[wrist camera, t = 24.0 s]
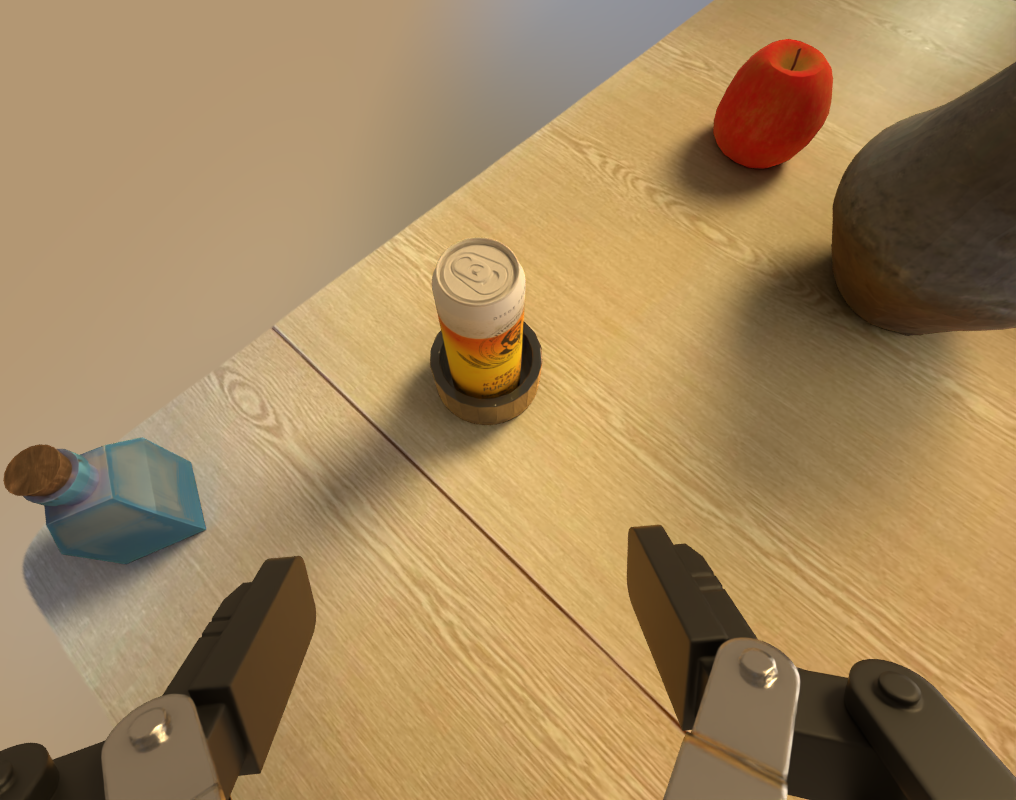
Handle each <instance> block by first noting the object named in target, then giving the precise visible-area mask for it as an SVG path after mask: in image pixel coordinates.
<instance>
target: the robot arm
mask: <svg viewBox="0 0 1016 800" xmlns="http://www.w3.org/2000/svg"><path fill="white" fill-rule="evenodd" d="M627 586H628V592H629V597H630V600H631V604H632V606H633V609H634V611H635V614H636V616H637V619H638V621H639V624H640V626H641V629H642V631H643V634H644V636H645V639H646V641H647V644H648V646H649V649H650V651H651V653H652V656H653V658H654V661H655V663H656V666H657V668H658V671H659V673H660V676H661V678H662V681H663V683H664V686H665V688H666V691H667V693H668V696H669V698H670V701H671V703H672V706H673V708H674V711H675V713H676V716H677V718H678V721H679V723H680V726H681V728H682V731H683V730H692V731H691V733H689V732H687V733H686V735H685V737H684V739H683V742H682V745H681V748H680V751H679V754H678V757H677V760H676V763H675V766H674V769H673V772H672V775H671V778H670V781H669V784H668V787H667V790H666V793H665V796H664V799H663V800H787V794H788V795H792V796H796V797H800V798H804V799H809V800H1016V777H1015V776H1014V775H1013V774H1012V773H1011V772H1010V770H1009V769H1008V768H1007V767H1006V766H1005V765H1004V764H1003V763H1002V762H1001V760H1000V759H999V758H998V757H997V756H996V755H995V754H994V753H993V751H992V750H991V749H990V748H989V747H988V746H987V745H986V744H985V743H984V741H983V740H982V739H981V738H980V737H979V736H978V735H977V734H976V733H975V731H974V730H973V729H972V728H971V727H970V726H969V725H968V724H967V722H966V721H965V720H964V719H963V718H962V717H961V716H960V715H959V714H958V712H957V711H956V710H955V709H954V708H953V707H952V706H951V705H950V703H949V702H948V701H947V700H946V699H945V698H944V697H943V696H942V695H941V693H940V692H939V691H938V690H937V689H936V688H935V687H934V686H933V685H932V684H930V683H929V682H928V681H927V680H926V679H924V678H923V677H921V676H920V675H918V674H917V673H915V672H913V671H911V670H910V669H908V668H905V667H903V666H901V665H898V664H896V663H893V662H889V661H885V660H879V659H867V660H862V661H859V662H857V663H856V664H854V665H853V667H852V668H851V670H850V673H849V677H848V678H846V677H840V676H834V675H829V674H823V673H818V672H812V671H807V670H803V669H800V668H797V667H795V665H794V664H793V662H792V661H791V660H790V659H789V658H788V657H787V656H786V655H785V654H784V653H783V652H781V651H780V650H778V649H777V648H775V647H774V646H772V645H770V644H768V643H766V642H763V641H760V640H758V639H757V637H756V636H755V634H754V633H753V631H752V630H751V628H750V627H749V625H748V624H747V622H746V621H745V619H744V618H743V616H742V615H741V613H740V612H739V610H738V609H737V607H736V606H735V604H734V603H733V601H732V600H731V598H730V597H729V595H728V594H727V592H726V591H725V589H723V588H722V585H721V583H720V582H719V580H718V579H717V577H716V576H714V574H713V571H712V570H711V568H710V567H709V565H708V564H707V562H706V561H705V559H704V558H703V556H701V555H700V554H699V553H697V552H696V551H695V550H693V549H692V548H691V547H689V546H688V545H687V544H675V545H673V543H672V542H671V540H670V538H669V537H668V535H667V533H666V532H665V530H664V528H663V527H662V526H661V525H651V526H639V527H630V529H629V533H628V558H627ZM315 623H316V608H315V603H314V599H313V595H312V591H311V587H310V583H309V579H308V575H307V571H306V567H305V563H304V560H303V559H302V557H301V556H294V557H283V558H272V559H267V560H266V561H265V562H264V563H263V565H262V566H261V568H260V570H259V571H258V573H257V575H256V576H255V578H254V580H253V581H252V582H248V583H242V584H241V585H240V586H239V587H238V588H237V589H236V590H234V591H233V592H232V593H231V594H230V595H229V596H228V597H226V598H225V599H224V600H223V602H222V603H221V605H220V607H219V608H218V610H217V611H216V613H215V614H214V616H213V618H212V622H209V624H208V625H207V627H206V628H205V630H204V632H203V633H202V638H199V639H198V641H197V642H196V644H195V646H194V647H193V649H192V650H191V652H190V653H189V655H188V656H187V658H186V660H185V661H184V663H183V664H182V666H181V667H180V669H179V671H178V672H177V674H176V675H175V677H174V678H173V680H172V681H171V683H170V685H169V686H168V688H167V689H166V691H165V692H164V694H163V695H162V696H160V697H158V698H155V699H152V700H150V701H148V702H146V703H144V704H143V705H141V706H139V707H137V708H136V709H135V710H133V711H132V712H130V713H129V714H128V715H127V716H126V717H124V718H123V719H122V720H121V721H120V722H119V723H118V724H117V725H116V726H115V728H114V729H113V730H112V731H111V733H110V734H109V736H108V737H107V739H106V740H105V741H103V742H100V743H98V744H95V745H92V746H89V747H87V748H84V749H81V750H78V751H76V752H73V753H70V754H68V755H65V756H62V757H59V758H56V759H54V760H52V759H51V757H50V755H49V753H48V751H47V750H46V748H45V747H44V746H43V745H41V744H37V743H24V744H20V745H16V746H13V747H10V748H7V749H5V750H2V751H0V800H232V797H231V795H230V794H231V792H232V790H233V787H234V785H235V782H236V780H237V778H238V776H241V775H250V774H260V773H261V770H262V768H263V765H264V762H265V760H266V757H267V755H268V752H269V749H270V747H271V744H272V741H273V739H274V736H275V733H276V731H277V728H278V725H279V723H280V720H281V718H282V715H283V712H284V710H285V707H286V704H287V702H288V699H289V696H290V694H291V691H292V689H293V686H294V683H295V681H296V678H297V675H298V673H299V670H300V667H301V665H302V662H303V659H304V657H305V654H306V652H307V649H308V646H309V644H310V641H311V638H312V636H313V633H314V629H315Z"/></svg>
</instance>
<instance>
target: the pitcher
mask: <svg viewBox="0 0 1016 800" xmlns="http://www.w3.org/2000/svg"><path fill="white" fill-rule="evenodd" d="M831 246H832V266H833V274H834V277H835V280H836V284H837V287H838V289H839V291H840V293H841V294H842V296H843V297H844V299H845V301H846V302H847V304H848V305H849V307H850V308H851V309H852V310H853V311H854V312H855V313H856V314H857V315H859V316H860V317H861V318H863V319H864V320H866V321H867V322H869V323H870V324H872V325H875V326H878V327H881V328H883V329H886V330H891V331H895V332H899V333H901V334H904V335H907V336H910V335H923V334H930V333H938V332H948V331H982V330H999V329H1008V328H1015V327H1016V62H1015V63H1014V64H1012V65H1010V66H1009V67H1007V68H1005V69H1004V70H1002V71H1001V72H999V73H997V74H996V75H994V76H993V77H991V78H990V79H988V80H986V81H985V82H983V83H982V84H980V85H978V86H977V87H975V88H973V89H972V90H970V91H968V92H967V93H965V94H963V95H962V96H960V97H958V98H957V99H955V100H953V101H951V102H949V103H947V104H945V105H942V106H940V107H937V108H935V109H932V110H929V111H926V112H923V113H919V114H916V115H913V116H911V117H908V118H906V119H904V120H901V121H899V122H897V123H895V124H893V125H891V126H890V127H888V128H886V129H884V130H883V131H882V132H880V133H879V134H878V135H876V136H875V137H874V138H873V139H871V140H870V141H869V142H868V143H867V144H866V145H865V146H864V147H863V148H862V149H861V150H860V152H859V153H858V154H857V155H856V156H855V157H854V159H853V160H852V162H851V163H850V164H849V166H848V167H847V169H846V171H845V173H844V175H843V176H842V179H841V181H840V184H839V186H838V189H837V192H836V195H835V198H834V203H833V229H832V245H831Z"/></svg>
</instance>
